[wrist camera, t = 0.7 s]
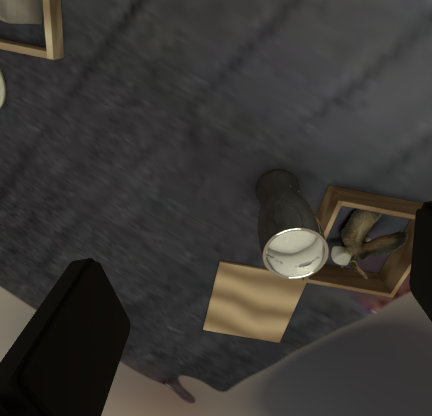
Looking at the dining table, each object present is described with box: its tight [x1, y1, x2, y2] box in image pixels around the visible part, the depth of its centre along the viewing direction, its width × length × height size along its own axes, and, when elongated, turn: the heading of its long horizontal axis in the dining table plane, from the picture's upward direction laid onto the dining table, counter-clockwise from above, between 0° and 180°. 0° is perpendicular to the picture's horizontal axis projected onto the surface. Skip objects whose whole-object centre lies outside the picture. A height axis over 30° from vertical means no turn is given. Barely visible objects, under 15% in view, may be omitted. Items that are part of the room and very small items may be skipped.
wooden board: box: [203, 260, 306, 342], centre depth 56 cm, size 17×15×1 cm
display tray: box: [302, 185, 423, 297], centre depth 45 cm, size 14×14×4 cm
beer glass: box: [256, 170, 329, 279], centre depth 38 cm, size 7×7×15 cm
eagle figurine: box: [331, 209, 408, 279], centre depth 45 cm, size 8×7×9 cm
